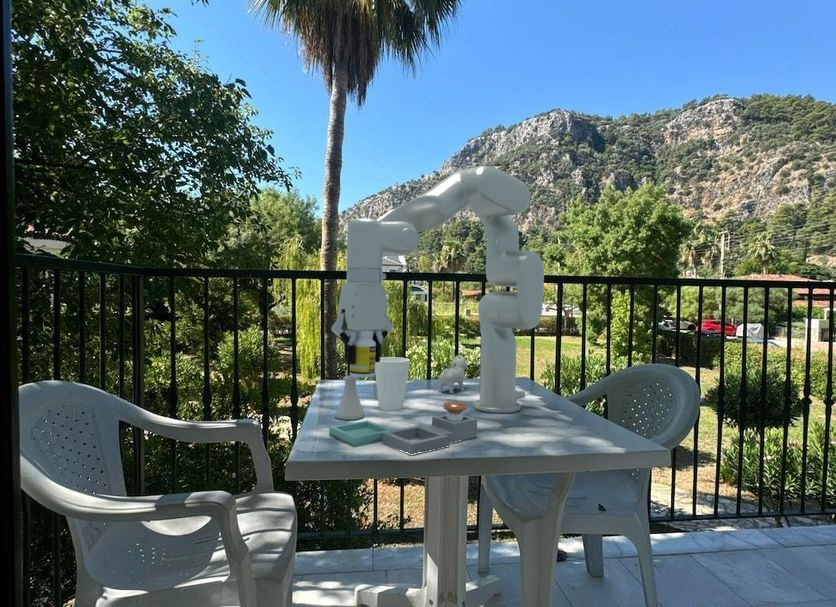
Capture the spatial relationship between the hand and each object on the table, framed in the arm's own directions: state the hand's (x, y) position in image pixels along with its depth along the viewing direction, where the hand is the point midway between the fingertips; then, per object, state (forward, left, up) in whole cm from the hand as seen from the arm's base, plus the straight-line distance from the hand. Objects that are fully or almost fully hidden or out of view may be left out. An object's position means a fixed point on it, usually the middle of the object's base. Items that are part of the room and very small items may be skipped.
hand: (362, 361), depth 112 cm
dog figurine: (-51, -26, -16) cm, 60 cm away
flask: (-7, -16, -17) cm, 24 cm away
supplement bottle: (0, 0, -3) cm, 3 cm away
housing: (-11, +11, -16) cm, 23 cm away
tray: (0, 0, -16) cm, 16 cm away
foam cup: (-21, -18, -16) cm, 32 cm away
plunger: (-17, +11, -16) cm, 26 cm away
